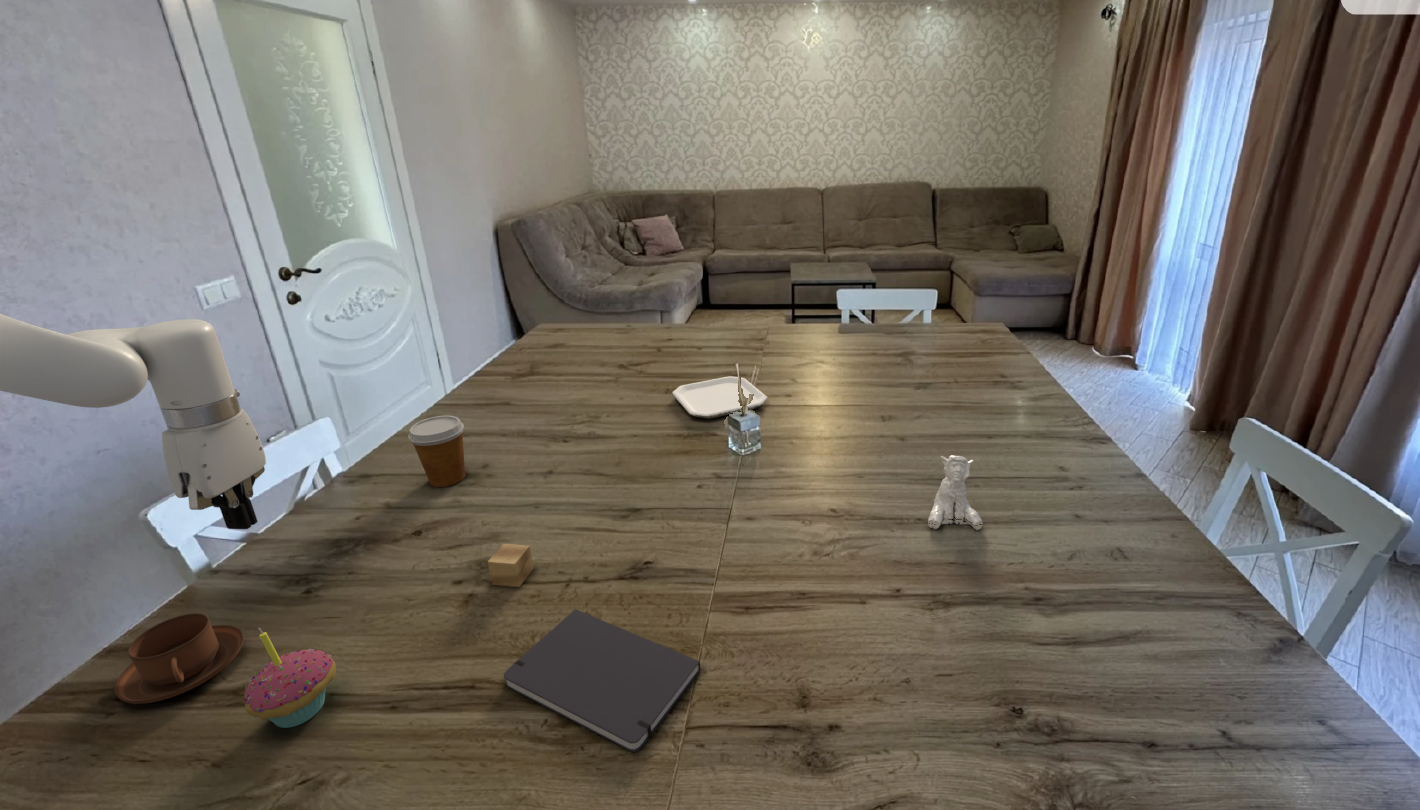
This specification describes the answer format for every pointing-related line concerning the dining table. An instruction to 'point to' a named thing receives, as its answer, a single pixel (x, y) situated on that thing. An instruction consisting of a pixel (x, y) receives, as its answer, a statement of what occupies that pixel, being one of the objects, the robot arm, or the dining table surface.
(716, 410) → the plate
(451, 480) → the disposable coffee cup
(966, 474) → the seated beast figurine
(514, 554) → the beech block
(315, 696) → the cupcake
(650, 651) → the notebook
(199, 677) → the cup and saucer
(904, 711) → the dining table surface
